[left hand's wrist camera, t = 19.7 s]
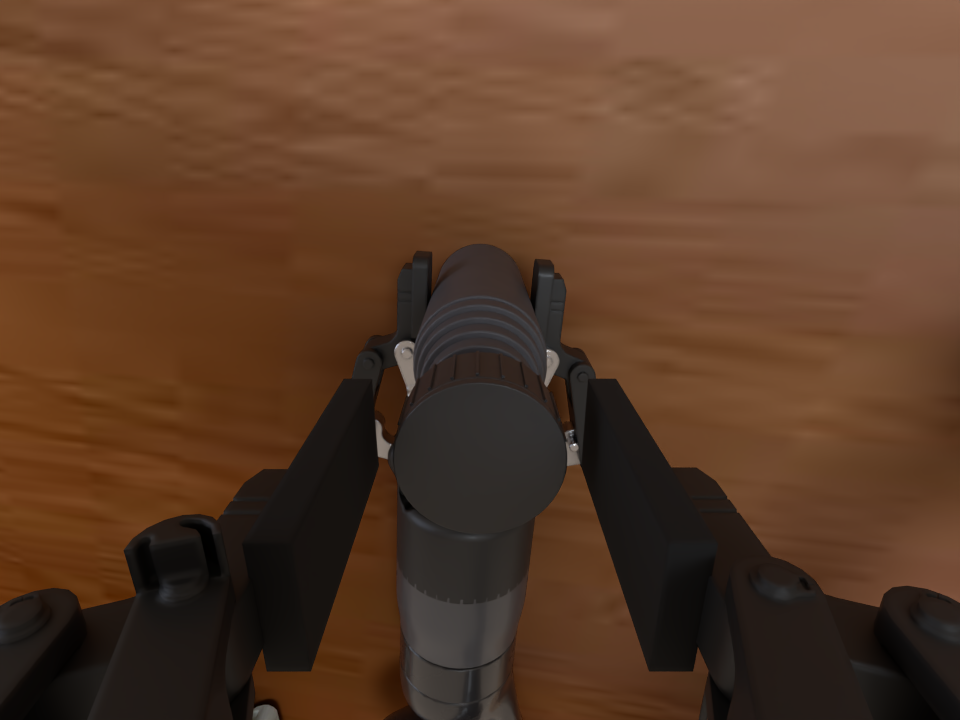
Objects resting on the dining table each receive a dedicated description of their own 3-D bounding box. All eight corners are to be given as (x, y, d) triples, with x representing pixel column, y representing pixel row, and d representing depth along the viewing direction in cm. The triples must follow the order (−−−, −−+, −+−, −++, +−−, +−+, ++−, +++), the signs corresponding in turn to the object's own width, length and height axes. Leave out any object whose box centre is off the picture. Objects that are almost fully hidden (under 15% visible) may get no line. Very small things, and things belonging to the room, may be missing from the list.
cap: (435, 325, 14) (427, 352, 12) (584, 384, 14) (601, 420, 12) (381, 458, 15) (366, 502, 13) (519, 507, 16) (524, 556, 14)
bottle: (495, 340, 32) (514, 556, 15) (423, 302, 31) (351, 482, 14) (537, 270, 30) (615, 416, 13) (463, 227, 29) (439, 323, 12)
